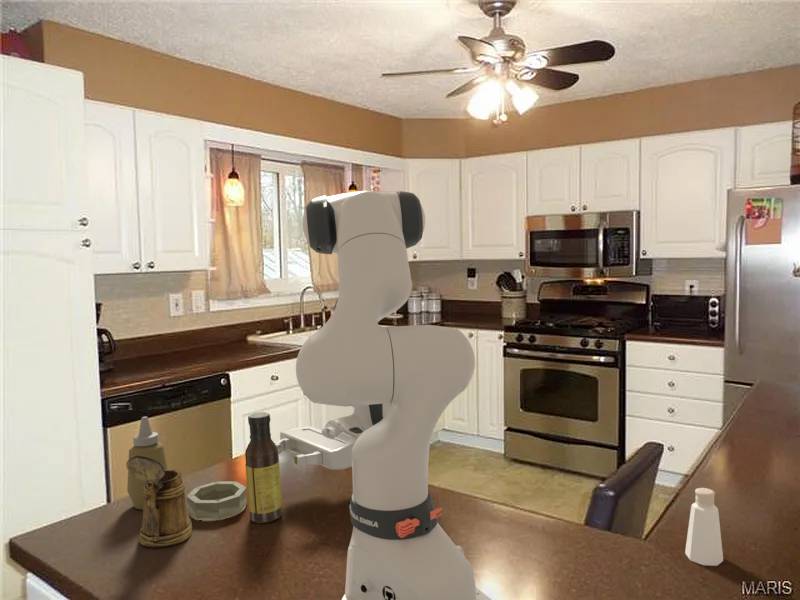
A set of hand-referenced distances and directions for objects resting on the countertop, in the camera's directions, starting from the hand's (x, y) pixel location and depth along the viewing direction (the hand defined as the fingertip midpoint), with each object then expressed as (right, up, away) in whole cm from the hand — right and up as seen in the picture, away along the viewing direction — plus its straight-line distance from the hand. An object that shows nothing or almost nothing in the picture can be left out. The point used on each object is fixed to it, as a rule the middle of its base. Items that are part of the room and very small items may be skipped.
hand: (283, 455), depth 116 cm
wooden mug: (-19, -13, -11) cm, 25 cm away
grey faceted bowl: (-13, -11, +2) cm, 18 cm away
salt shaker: (+71, -11, -21) cm, 75 cm away
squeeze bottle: (-28, -11, +5) cm, 31 cm away
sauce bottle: (-3, -11, -2) cm, 12 cm away
